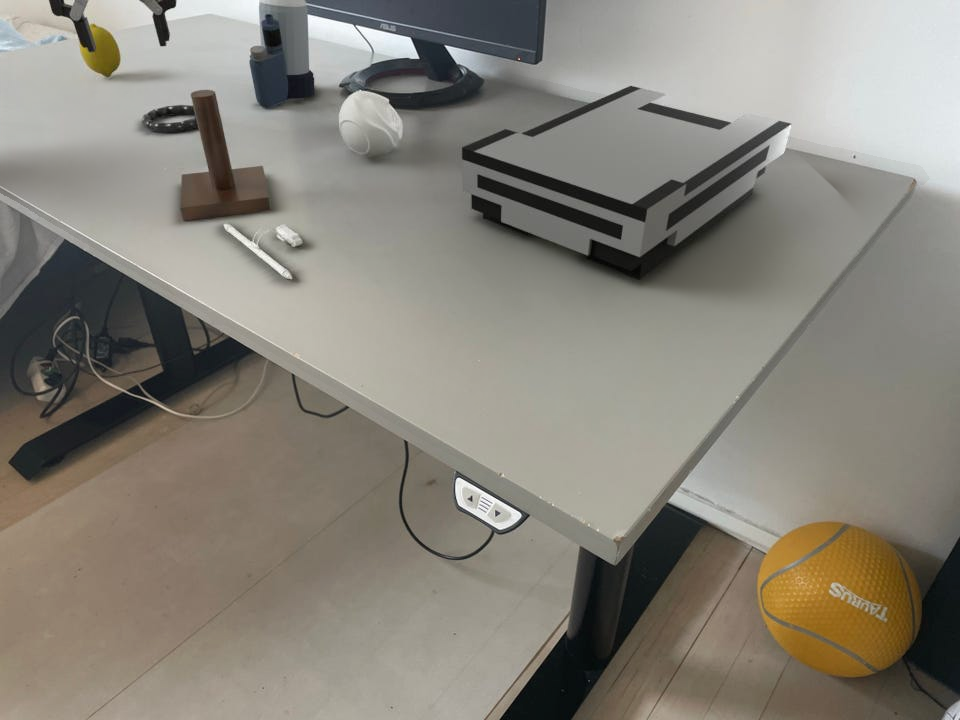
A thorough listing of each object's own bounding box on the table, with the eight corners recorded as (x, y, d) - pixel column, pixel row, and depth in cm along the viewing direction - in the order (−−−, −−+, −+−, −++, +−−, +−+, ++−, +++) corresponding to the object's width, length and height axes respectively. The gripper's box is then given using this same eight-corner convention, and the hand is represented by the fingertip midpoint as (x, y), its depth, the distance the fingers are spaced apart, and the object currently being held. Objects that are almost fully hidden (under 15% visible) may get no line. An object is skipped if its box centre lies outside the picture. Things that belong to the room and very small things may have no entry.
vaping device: (294, 98, 106) (282, 16, 97) (264, 110, 103) (248, 27, 94) (284, 91, 107) (271, 9, 98) (254, 103, 104) (237, 20, 95)
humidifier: (311, 85, 113) (306, -103, 99) (317, 99, 106) (313, -99, 92) (257, 84, 110) (244, -109, 96) (260, 98, 104) (247, -106, 90)
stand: (183, 221, 75) (153, 111, 68) (184, 186, 82) (158, 84, 75) (270, 210, 78) (250, 103, 70) (265, 177, 84) (246, 76, 77)
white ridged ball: (398, 167, 87) (393, 103, 82) (336, 166, 87) (328, 101, 82) (407, 143, 93) (403, 82, 88) (349, 141, 93) (343, 80, 89)
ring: (141, 136, 95) (139, 127, 94) (145, 115, 101) (143, 107, 100) (208, 130, 97) (206, 121, 96) (207, 110, 103) (205, 101, 102)
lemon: (119, 70, 118) (104, 18, 113) (131, 78, 115) (116, 24, 110) (84, 76, 115) (67, 23, 110) (95, 84, 112) (78, 30, 107)
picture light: (221, 228, 74) (217, 210, 73) (260, 216, 76) (256, 198, 75) (288, 283, 66) (284, 262, 64) (329, 267, 68) (326, 247, 67)
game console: (775, 182, 84) (795, 112, 79) (633, 292, 65) (647, 209, 60) (623, 139, 95) (631, 75, 90) (462, 223, 75) (461, 147, 70)
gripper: (152, -107, 86) (186, 36, 96) (22, -103, 83) (72, 45, 93) (149, -101, 81) (186, 51, 91) (9, -96, 77) (63, 60, 87)
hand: (128, 47), depth 92 cm, fingers open, 8 cm apart
